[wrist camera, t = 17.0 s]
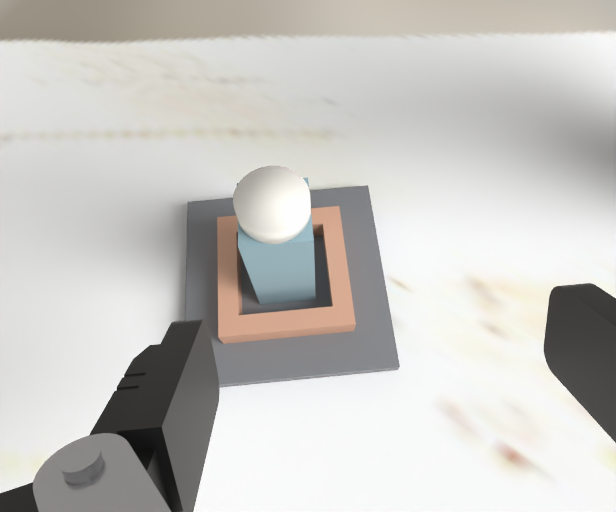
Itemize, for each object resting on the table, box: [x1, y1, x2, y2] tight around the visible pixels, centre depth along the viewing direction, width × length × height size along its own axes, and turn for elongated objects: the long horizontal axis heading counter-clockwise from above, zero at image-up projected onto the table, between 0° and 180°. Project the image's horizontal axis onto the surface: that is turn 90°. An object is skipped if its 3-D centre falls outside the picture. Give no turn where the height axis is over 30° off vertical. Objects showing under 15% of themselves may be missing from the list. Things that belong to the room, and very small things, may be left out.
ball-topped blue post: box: [233, 166, 316, 305], centre depth 31 cm, size 4×4×12 cm
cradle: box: [185, 185, 400, 387], centre depth 36 cm, size 16×16×3 cm
